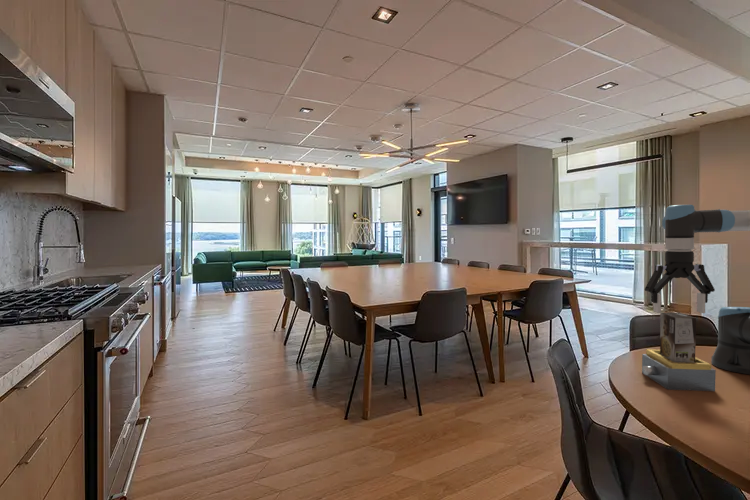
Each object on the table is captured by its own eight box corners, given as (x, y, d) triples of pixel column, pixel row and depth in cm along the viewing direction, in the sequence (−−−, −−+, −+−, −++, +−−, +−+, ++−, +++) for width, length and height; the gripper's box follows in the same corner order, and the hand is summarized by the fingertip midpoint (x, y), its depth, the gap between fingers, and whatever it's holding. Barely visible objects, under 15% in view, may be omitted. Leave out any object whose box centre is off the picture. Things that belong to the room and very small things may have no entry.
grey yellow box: (684, 374, 133) (684, 350, 132) (715, 391, 118) (715, 364, 118) (633, 372, 135) (633, 349, 135) (657, 389, 121) (657, 362, 120)
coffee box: (696, 366, 121) (697, 318, 120) (674, 365, 122) (675, 317, 122) (679, 357, 130) (680, 312, 129) (658, 356, 131) (659, 311, 131)
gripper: (711, 249, 126) (711, 309, 127) (633, 250, 130) (633, 310, 131) (729, 250, 119) (728, 314, 120) (645, 252, 123) (645, 314, 123)
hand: (678, 312), depth 125 cm, fingers open, 13 cm apart
